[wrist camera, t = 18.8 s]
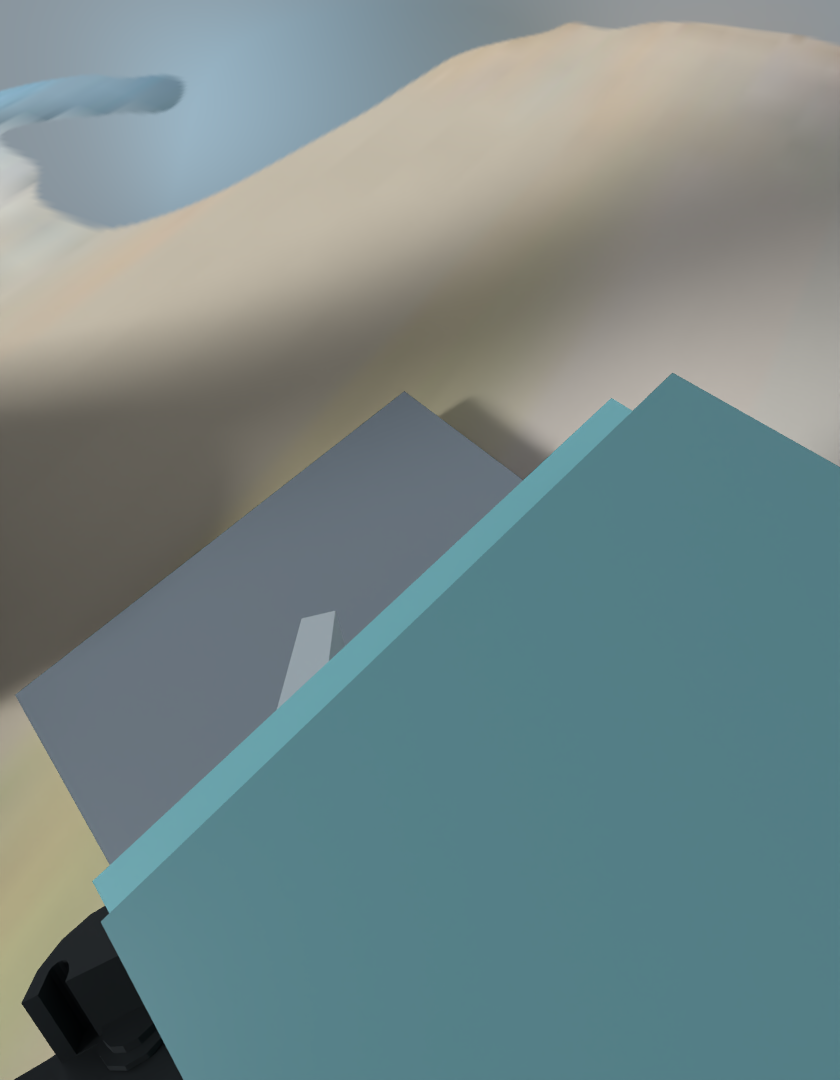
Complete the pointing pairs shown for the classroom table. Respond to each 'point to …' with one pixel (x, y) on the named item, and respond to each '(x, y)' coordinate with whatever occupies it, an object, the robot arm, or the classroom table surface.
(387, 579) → the socket plate
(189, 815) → the plug
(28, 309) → the classroom table surface
